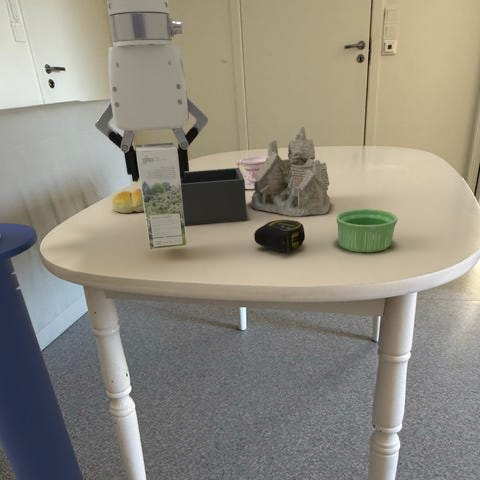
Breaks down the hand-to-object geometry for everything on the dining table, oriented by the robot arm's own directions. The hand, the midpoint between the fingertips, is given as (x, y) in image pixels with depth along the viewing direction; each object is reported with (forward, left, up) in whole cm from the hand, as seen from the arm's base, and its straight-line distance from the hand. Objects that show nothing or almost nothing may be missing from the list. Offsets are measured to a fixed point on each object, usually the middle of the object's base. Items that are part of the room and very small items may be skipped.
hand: (159, 177), depth 65 cm
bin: (+8, +22, -12) cm, 26 cm away
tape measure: (+18, -2, -12) cm, 21 cm away
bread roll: (-9, +32, -12) cm, 35 cm away
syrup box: (0, 0, -10) cm, 10 cm away
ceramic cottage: (+24, +23, -12) cm, 35 cm away
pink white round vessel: (+20, +46, -12) cm, 51 cm away
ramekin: (+31, -3, -12) cm, 33 cm away
